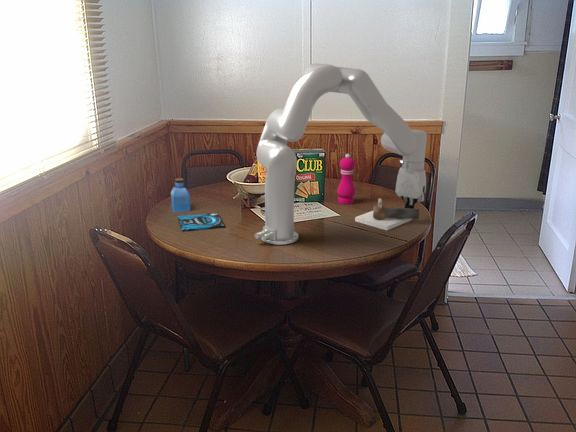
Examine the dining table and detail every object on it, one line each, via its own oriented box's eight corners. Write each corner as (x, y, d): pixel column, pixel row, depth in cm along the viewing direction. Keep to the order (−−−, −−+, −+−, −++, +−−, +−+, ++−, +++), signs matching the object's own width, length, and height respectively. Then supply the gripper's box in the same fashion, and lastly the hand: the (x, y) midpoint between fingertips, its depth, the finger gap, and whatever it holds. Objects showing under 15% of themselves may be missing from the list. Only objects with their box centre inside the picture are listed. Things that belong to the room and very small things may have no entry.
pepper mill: (354, 199, 222) (356, 152, 215) (354, 205, 215) (357, 156, 208) (336, 199, 222) (338, 151, 216) (336, 204, 215) (338, 155, 209)
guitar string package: (225, 225, 189) (182, 229, 184) (225, 229, 189) (182, 233, 185) (218, 212, 202) (177, 216, 198) (218, 216, 203) (177, 219, 198)
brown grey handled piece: (373, 218, 193) (374, 201, 191) (372, 215, 197) (373, 198, 195) (419, 220, 191) (420, 203, 189) (417, 216, 195) (419, 199, 193)
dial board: (388, 230, 187) (388, 226, 186) (354, 221, 196) (355, 216, 196) (413, 220, 198) (413, 215, 197) (380, 211, 207) (380, 207, 207)
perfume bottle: (190, 210, 206) (189, 180, 203) (174, 212, 204) (172, 182, 200) (187, 206, 212) (185, 176, 208) (171, 207, 210) (169, 178, 206)
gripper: (389, 163, 192) (385, 212, 198) (426, 170, 183) (421, 221, 189) (400, 160, 198) (397, 207, 203) (437, 167, 188) (432, 216, 194)
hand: (408, 214), depth 196 cm, fingers closed
